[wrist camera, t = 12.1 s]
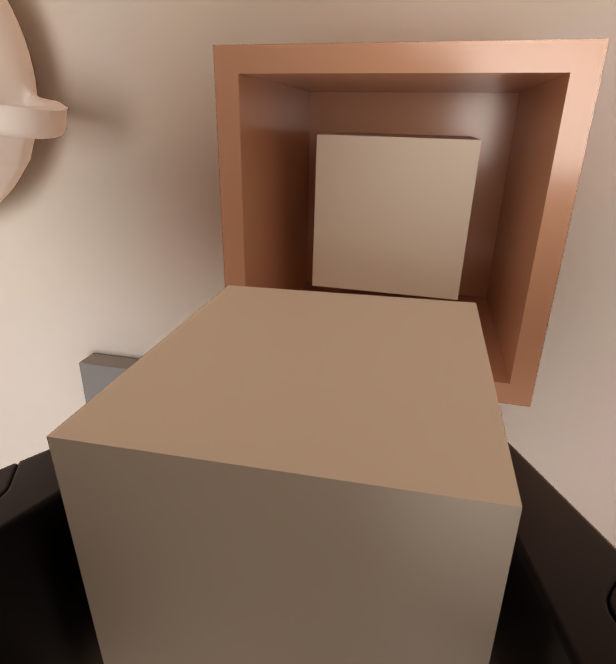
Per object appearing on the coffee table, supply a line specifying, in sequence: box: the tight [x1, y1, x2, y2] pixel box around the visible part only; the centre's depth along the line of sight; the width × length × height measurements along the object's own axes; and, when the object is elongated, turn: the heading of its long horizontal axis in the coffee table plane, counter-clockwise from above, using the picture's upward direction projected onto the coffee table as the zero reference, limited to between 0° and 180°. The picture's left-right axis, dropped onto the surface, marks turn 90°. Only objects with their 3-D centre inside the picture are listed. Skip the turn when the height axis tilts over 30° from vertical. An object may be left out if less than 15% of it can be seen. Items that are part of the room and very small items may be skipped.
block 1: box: [47, 285, 522, 664], centre depth 8 cm, size 4×4×5 cm
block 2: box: [312, 132, 482, 300], centre depth 17 cm, size 4×4×5 cm
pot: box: [213, 39, 609, 407], centre depth 16 cm, size 8×8×8 cm
